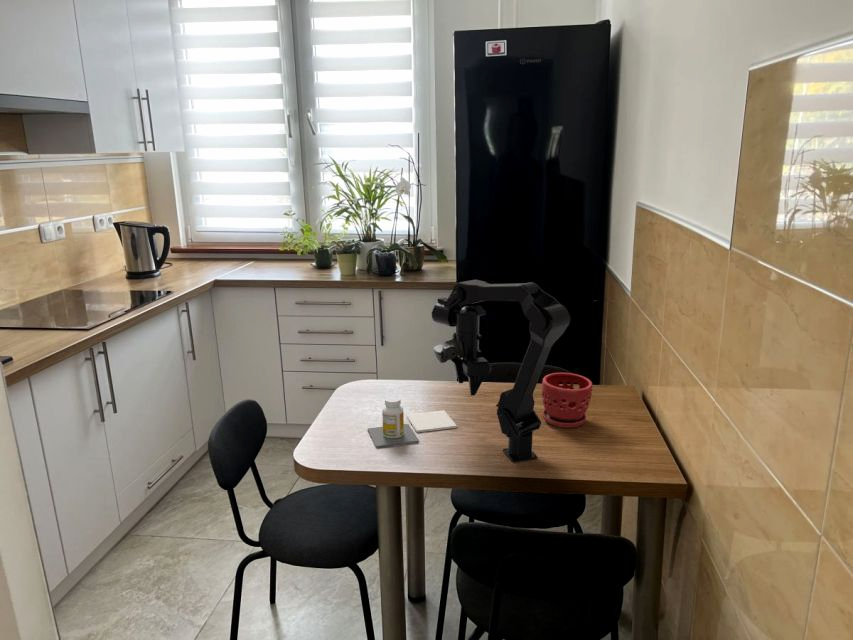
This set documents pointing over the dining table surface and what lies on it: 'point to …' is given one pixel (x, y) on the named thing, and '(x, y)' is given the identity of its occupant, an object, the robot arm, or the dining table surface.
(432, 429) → the offwhite coaster
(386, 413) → the supplement bottle
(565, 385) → the plant pot
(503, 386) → the dining table surface
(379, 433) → the slate coaster
